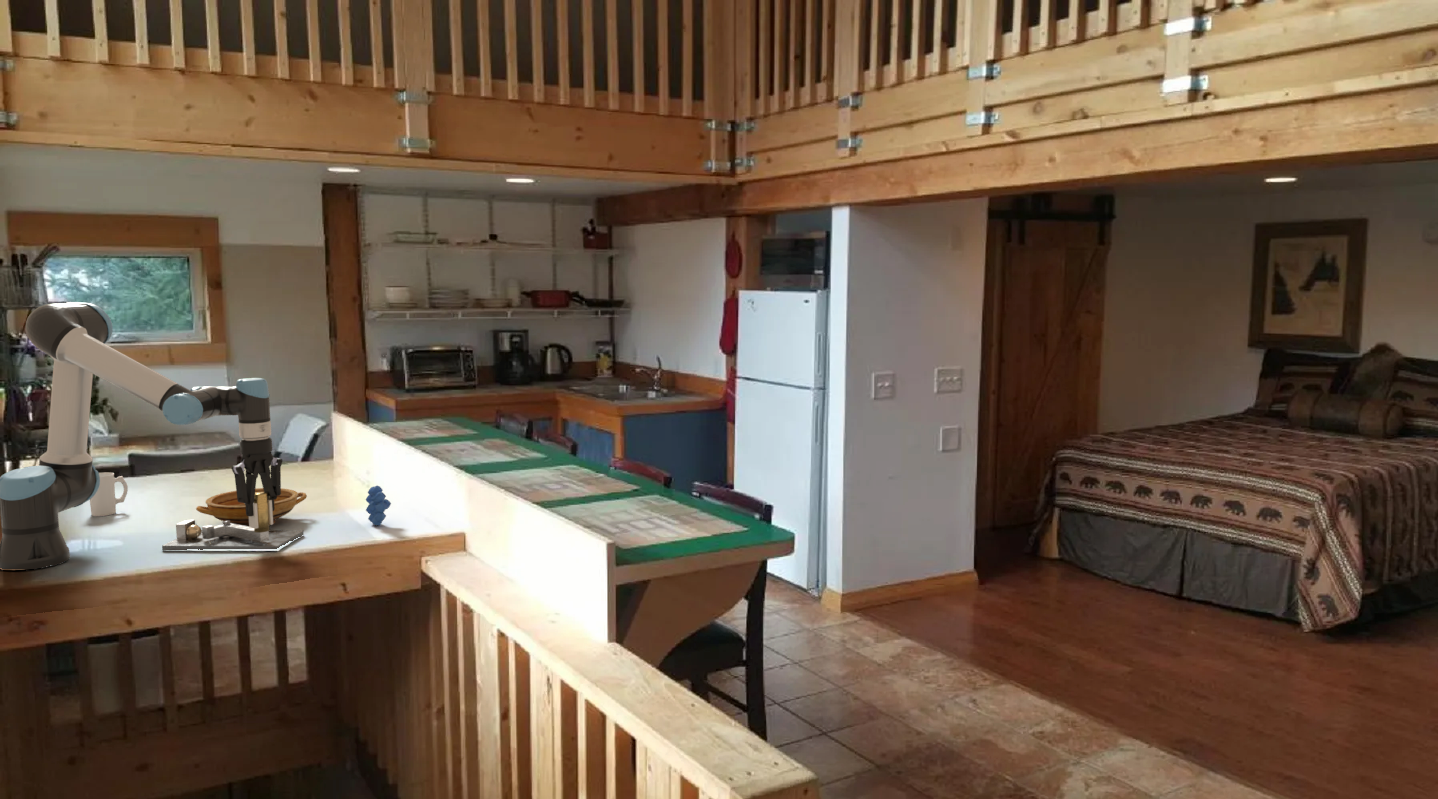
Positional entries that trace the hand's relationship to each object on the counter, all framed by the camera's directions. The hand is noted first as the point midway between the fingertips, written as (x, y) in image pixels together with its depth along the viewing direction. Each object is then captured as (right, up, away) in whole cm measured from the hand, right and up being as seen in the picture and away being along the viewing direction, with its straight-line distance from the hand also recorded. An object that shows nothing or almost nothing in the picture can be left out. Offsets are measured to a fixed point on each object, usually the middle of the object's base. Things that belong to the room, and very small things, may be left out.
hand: (261, 525), depth 260 cm
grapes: (+23, -3, +25) cm, 34 cm away
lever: (-7, -4, +1) cm, 8 cm away
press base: (-9, -5, +5) cm, 12 cm away
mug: (-63, -1, +38) cm, 73 cm away
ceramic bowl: (-14, -3, +26) cm, 30 cm away
